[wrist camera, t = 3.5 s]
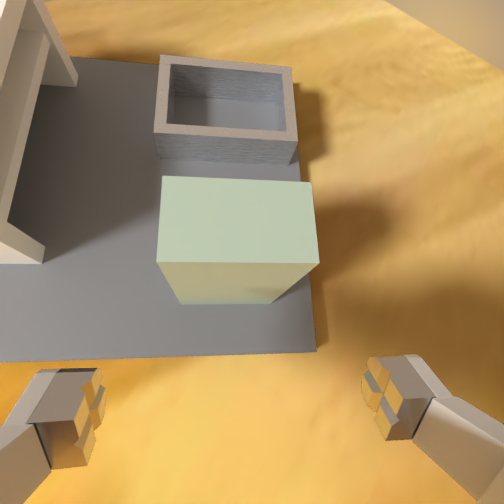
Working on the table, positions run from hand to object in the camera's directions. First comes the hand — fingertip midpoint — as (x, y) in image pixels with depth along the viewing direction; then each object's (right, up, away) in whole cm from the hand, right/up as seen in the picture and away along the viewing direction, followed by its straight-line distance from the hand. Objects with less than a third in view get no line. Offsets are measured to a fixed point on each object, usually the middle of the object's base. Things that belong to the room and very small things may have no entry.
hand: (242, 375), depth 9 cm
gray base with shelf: (-8, +8, +14) cm, 18 cm away
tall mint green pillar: (-1, +2, +12) cm, 12 cm away
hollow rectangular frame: (-2, +14, +16) cm, 21 cm away
